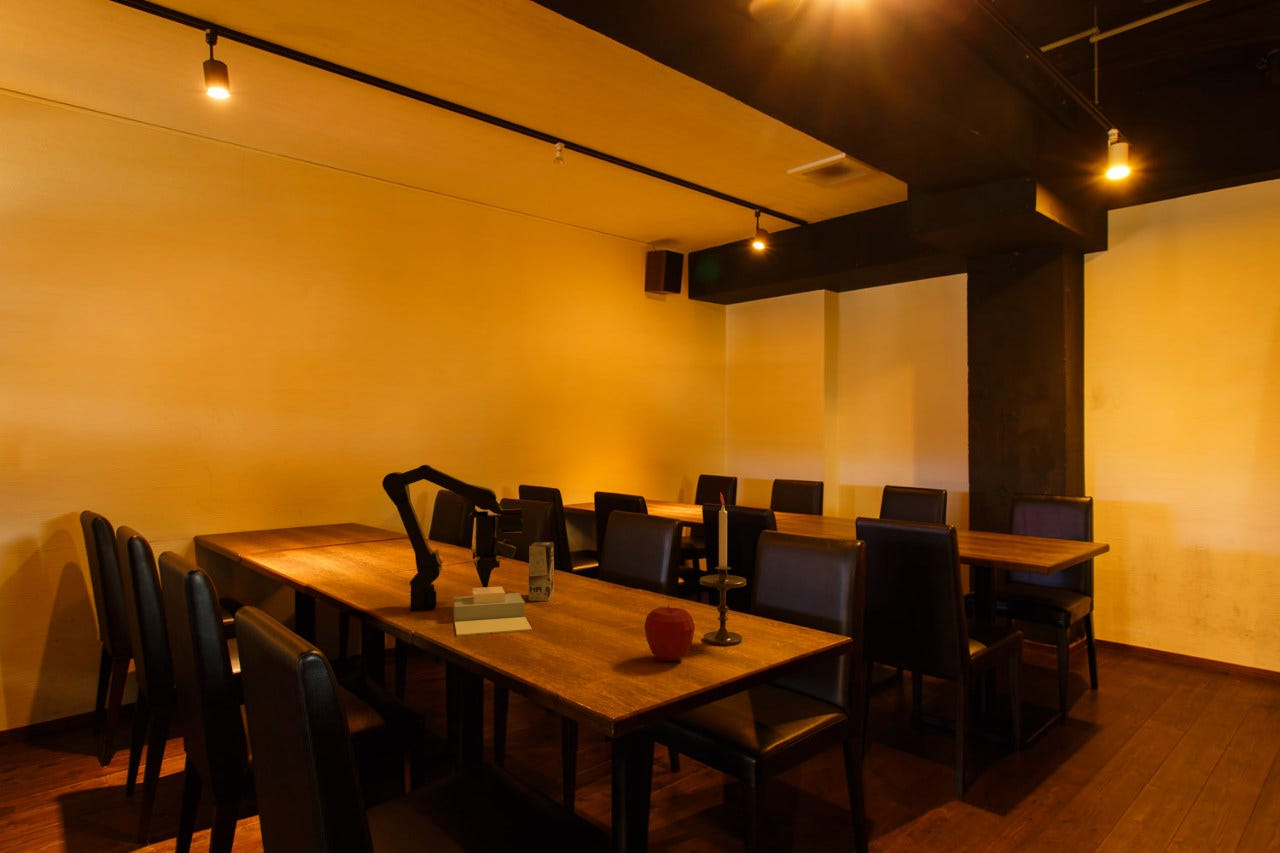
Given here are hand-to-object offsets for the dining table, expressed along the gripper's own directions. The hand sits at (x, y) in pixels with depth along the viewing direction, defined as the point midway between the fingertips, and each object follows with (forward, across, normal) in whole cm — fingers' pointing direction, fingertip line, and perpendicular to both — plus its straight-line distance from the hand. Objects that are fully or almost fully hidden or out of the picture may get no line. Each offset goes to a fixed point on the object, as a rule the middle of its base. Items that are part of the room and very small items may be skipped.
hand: (485, 588), depth 196 cm
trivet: (+1, -10, 0) cm, 10 cm away
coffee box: (+5, +6, -17) cm, 19 cm away
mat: (+5, -23, 0) cm, 23 cm away
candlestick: (+5, -50, -51) cm, 72 cm away
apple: (+5, -60, -34) cm, 69 cm away
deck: (+5, -10, 0) cm, 11 cm away
